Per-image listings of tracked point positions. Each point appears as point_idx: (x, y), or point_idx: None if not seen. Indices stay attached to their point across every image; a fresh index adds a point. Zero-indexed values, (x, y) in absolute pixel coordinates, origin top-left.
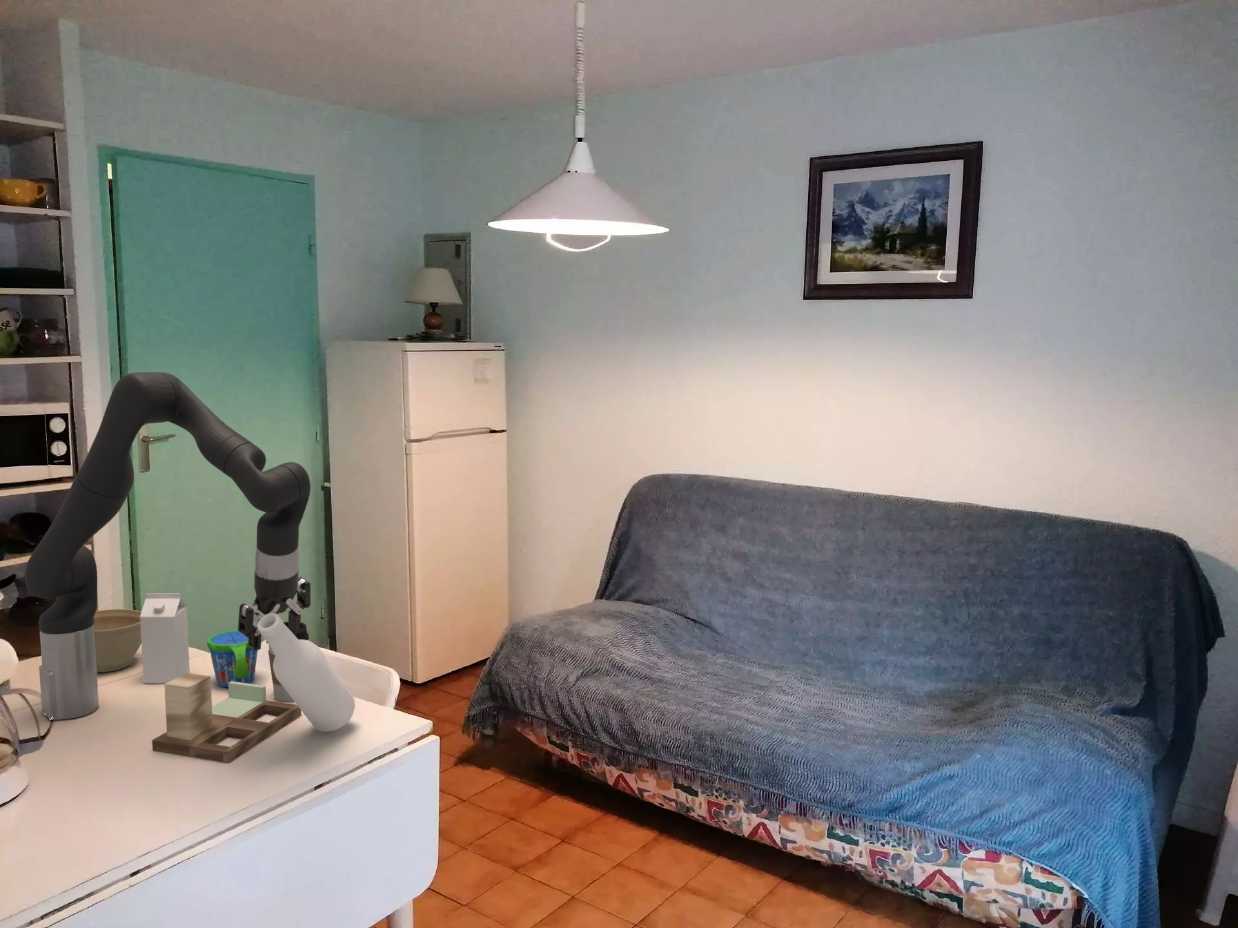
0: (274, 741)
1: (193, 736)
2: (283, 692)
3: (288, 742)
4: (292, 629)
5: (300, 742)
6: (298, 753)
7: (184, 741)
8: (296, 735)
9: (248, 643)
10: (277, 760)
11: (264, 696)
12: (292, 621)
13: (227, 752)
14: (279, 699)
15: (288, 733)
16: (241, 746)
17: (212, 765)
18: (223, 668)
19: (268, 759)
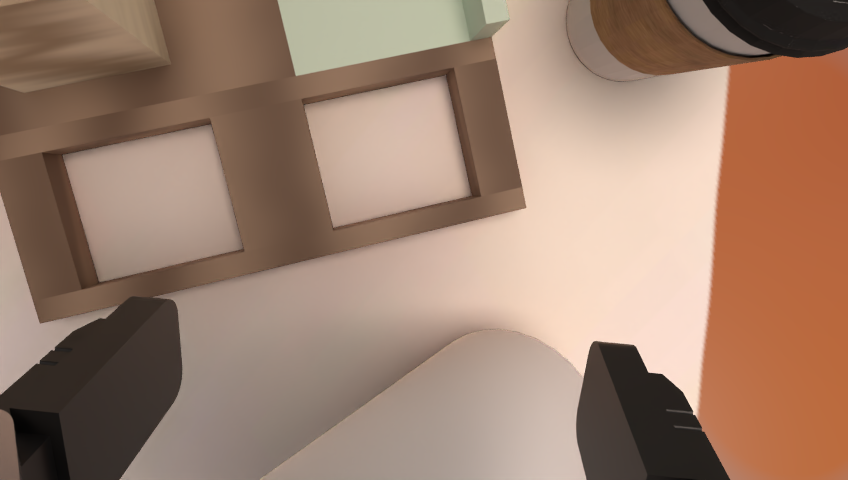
0: (288, 309)
1: (42, 87)
2: (584, 39)
3: (310, 359)
4: (582, 389)
5: (334, 396)
6: (264, 461)
7: None
8: (369, 336)
9: (69, 340)
10: (181, 445)
11: (485, 33)
12: (601, 452)
13: (40, 321)
14: (568, 25)
15: (366, 297)
16: None
17: (11, 280)
18: None
19: (168, 412)
